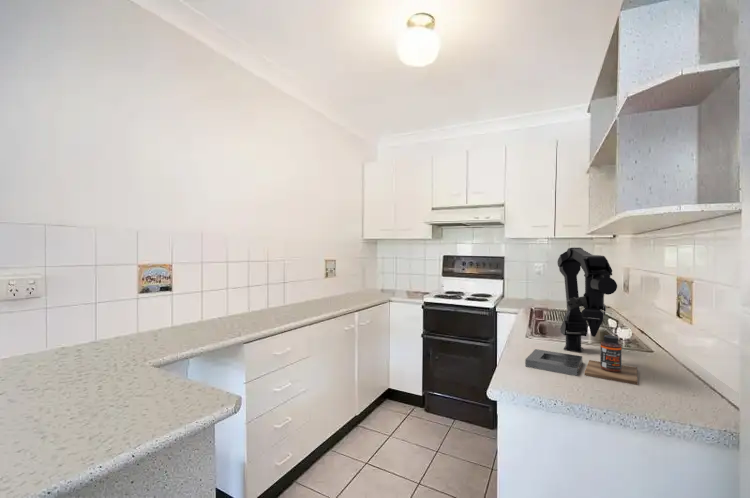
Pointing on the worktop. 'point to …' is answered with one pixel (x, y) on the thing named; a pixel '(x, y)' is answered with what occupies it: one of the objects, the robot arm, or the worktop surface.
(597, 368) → the walnut pad
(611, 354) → the supplement bottle
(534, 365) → the socket block
